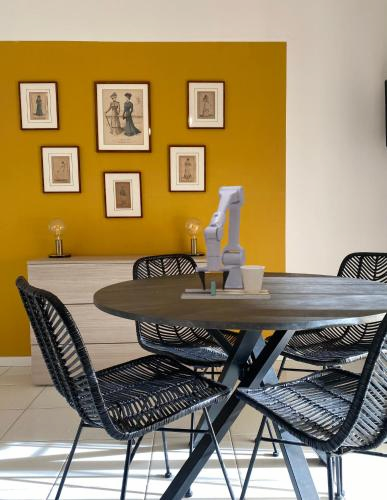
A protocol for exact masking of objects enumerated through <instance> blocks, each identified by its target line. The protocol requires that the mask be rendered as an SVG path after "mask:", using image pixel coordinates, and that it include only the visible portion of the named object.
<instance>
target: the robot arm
mask: <svg viewBox="0 0 387 500" xmlns="http://www.w3.org/2000/svg"><path fill="white" fill-rule="evenodd" d="M218 198H219V203H218V207H217V211H215V212H214V213H213V214H212V217H211V219H210V222H209V225H208V226H207V227H205V228H204V230H203V239H204V244H205V246H206V266H195V273H198V274H197V275H198V277H199V279H200V282H201V284H202V287H203V288H202V289H203V290H205V289H206V273H222V289H223V290H224V289H244V284H243V278H242V272H241V268H240V267H241V266H245V264H246V260H247V258H246V250H245V248H244V247H242V245H240V230H241V229H240V228H241V227H240V226H241V209H242V207H243V206H244V205H245V190H244V187H243V186H242V185H235V186H231V185H230V186H222V185H221V187H220V188H219V189H218ZM228 210H229V211H228ZM227 212H228V229H227V231H228V232H227V245H225V246H224V247H223V248H221V245H222V244H221V242H222V240H223V237H224V227H225V224H226V221H227V216H226V214H227ZM221 251H222V252H221Z"/></svg>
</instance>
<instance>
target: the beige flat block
mask: <svg viewBox="0 0 387 500" xmlns="http://www.w3.org/2000/svg"><path fill="white" fill-rule="evenodd" d="M216 282H217V281H216V279H211V280H210V284H211V283H215V294H270V293H269V290H268V291H267V290H261V292H260V293H245V290H216V289H217V288H216V286H217V285H216Z"/></svg>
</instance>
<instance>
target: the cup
mask: <svg viewBox="0 0 387 500" xmlns="http://www.w3.org/2000/svg"><path fill="white" fill-rule="evenodd" d="M240 268H241V272H242V285H243V289H244V290H245V293H260V292H261V289H262V285H263V279H264V273H265V268H266V266H262V265H244V266H241V267H240Z"/></svg>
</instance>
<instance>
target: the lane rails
mask: <svg viewBox="0 0 387 500" xmlns="http://www.w3.org/2000/svg"><path fill="white" fill-rule="evenodd" d="M184 290H185V291H184V292H185V293H181V295H180V298H181V300H193V299H195V300H196V299H197V300H199V299H200V300H210V299H211V300H220V299H221V300H226V299H227V300H237V299H238V300H239V299H240V300H242V299H243V300H247V299H248V300H253V299H254V300H271V298H272V297H271V294H270V293H269V294H215V283H211V282H210V288H205V290H203V288H185V289H184ZM216 290H223V288H216ZM224 290H244V288H225V289H224ZM261 290H267V291H268V292H269V289H268V288H261Z"/></svg>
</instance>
